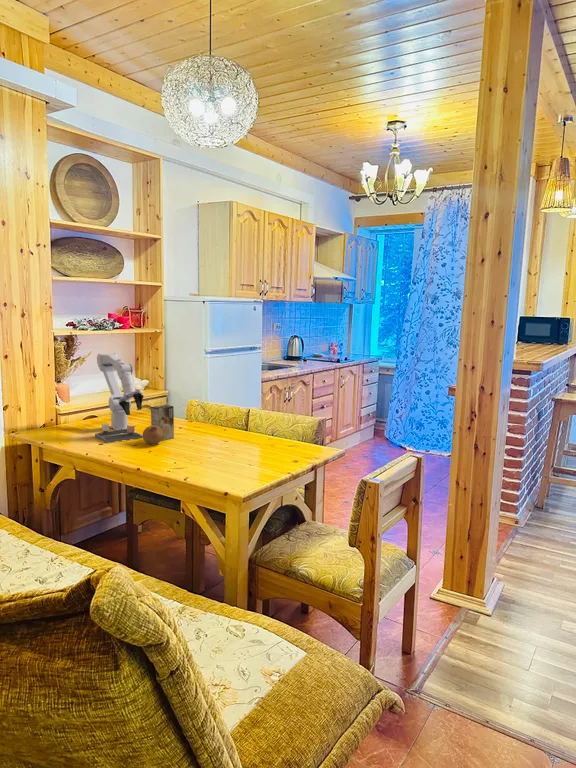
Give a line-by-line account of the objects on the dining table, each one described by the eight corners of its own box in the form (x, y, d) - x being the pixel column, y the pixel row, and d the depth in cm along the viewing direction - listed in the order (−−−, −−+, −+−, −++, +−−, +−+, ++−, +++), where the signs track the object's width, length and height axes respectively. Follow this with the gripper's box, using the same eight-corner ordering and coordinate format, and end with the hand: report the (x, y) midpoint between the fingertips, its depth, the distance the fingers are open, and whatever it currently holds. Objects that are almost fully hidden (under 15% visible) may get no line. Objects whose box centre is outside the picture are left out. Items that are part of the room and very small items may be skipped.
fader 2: (127, 435, 259) (127, 425, 258) (132, 434, 260) (131, 424, 260) (129, 436, 256) (129, 426, 256) (134, 435, 258) (134, 426, 257)
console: (94, 436, 261) (94, 431, 261) (130, 432, 272) (130, 427, 272) (105, 443, 249) (105, 437, 249) (142, 438, 260) (142, 432, 260)
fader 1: (101, 433, 261) (101, 423, 260) (106, 433, 262) (106, 423, 262) (104, 434, 258) (103, 425, 258) (109, 434, 260) (108, 424, 259)
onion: (156, 452, 248) (157, 435, 242) (138, 445, 249) (139, 428, 244) (166, 440, 256) (167, 424, 250) (148, 434, 257) (149, 417, 252)
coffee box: (165, 436, 266) (165, 404, 264) (174, 438, 262) (174, 405, 260) (150, 439, 259) (150, 406, 257) (159, 441, 255) (159, 408, 253)
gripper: (111, 391, 267) (117, 416, 263) (133, 380, 262) (139, 405, 258) (122, 392, 273) (127, 417, 269) (143, 382, 268) (149, 407, 264)
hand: (133, 411), depth 264 cm, fingers open, 7 cm apart
